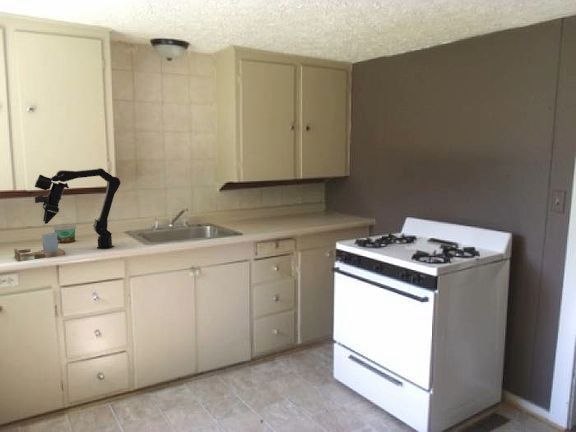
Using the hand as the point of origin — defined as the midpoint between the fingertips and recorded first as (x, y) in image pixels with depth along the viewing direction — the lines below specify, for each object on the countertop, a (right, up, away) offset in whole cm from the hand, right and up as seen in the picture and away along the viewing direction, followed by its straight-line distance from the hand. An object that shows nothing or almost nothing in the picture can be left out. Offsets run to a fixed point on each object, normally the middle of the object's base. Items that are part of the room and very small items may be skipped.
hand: (44, 222), depth 239 cm
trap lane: (-2, -17, -2) cm, 17 cm away
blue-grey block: (+3, -15, +1) cm, 15 cm away
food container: (-3, -12, +31) cm, 33 cm away
